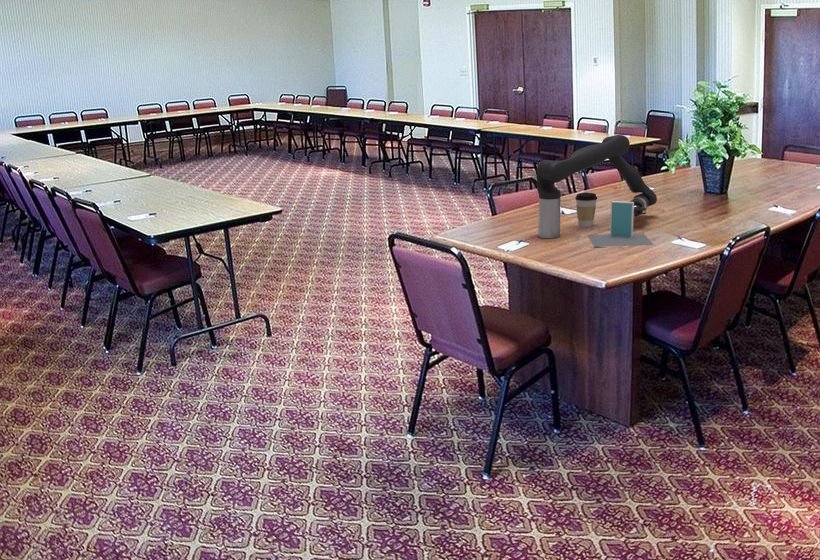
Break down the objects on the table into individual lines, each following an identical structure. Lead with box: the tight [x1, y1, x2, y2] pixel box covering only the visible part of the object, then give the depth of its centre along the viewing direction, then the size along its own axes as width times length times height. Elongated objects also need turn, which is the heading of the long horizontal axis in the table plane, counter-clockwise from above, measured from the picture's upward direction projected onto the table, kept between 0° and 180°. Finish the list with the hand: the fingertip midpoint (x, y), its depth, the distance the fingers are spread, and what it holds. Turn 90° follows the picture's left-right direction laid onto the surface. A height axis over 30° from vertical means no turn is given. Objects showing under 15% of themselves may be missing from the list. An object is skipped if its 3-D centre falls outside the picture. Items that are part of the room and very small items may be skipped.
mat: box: [587, 232, 655, 249], centre depth 327 cm, size 24×20×1 cm
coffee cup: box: [574, 192, 598, 229], centre depth 353 cm, size 10×10×15 cm
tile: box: [610, 200, 634, 238], centre depth 331 cm, size 2×9×15 cm, turn 61°
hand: (626, 214), depth 338 cm, fingers closed
